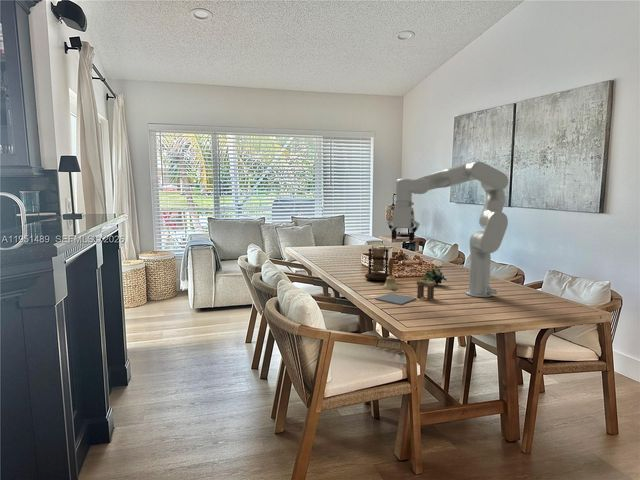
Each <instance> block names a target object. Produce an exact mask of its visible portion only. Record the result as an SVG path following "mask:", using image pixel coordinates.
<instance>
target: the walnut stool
mask: <svg viewBox="0 0 640 480" xmlns="http://www.w3.org/2000/svg"><path fill="white" fill-rule="evenodd" d="M416 285H417V292H416V293H417V295H416V298H418V299H421V298H424V295H425V287H427V292H426V293H427V295H426V300H427V301H431V299H432V300H433V299H434V298H435V297H434V296H435V295H434V294H435V285H436V283H435V282H432V281H431V280H430V281H428V280H427V281H426V280H422V279H420V280H418V281H417V280H416Z"/></svg>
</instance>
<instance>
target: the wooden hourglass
mask: <svg viewBox="0 0 640 480" xmlns="http://www.w3.org/2000/svg"><path fill="white" fill-rule="evenodd" d="M389 252H390V251H389V248H386V245H384V247H383V248H379V247H374V245H372V248H369V249H368V265H367V267H368V271H367V272H368V273H365V275H364V278H365V279H368V281H369V282H371V280H374V281H385V282H386V278H387V277H389V271H388V269H389V266H388V263H389Z"/></svg>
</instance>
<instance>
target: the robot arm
mask: <svg viewBox="0 0 640 480" xmlns="http://www.w3.org/2000/svg"><path fill="white" fill-rule="evenodd" d="M474 180H475V181H478V182H480V185H481V187H482V189H483V190H484V192H485V196H486V197H485V198H486V199H485V201H484V202H485V203H484V205H483V208H482V211H481V214H480V216H479V220H478V223H479V226H480V227H481V228H483V229H484V231H483V230H482V231H481V230H478V231H475V232H473V234H471V235H470V238H469V252H470V253H469V255H470V256H469V258H470V259H469V276H468V277H469V279H468V289H466V290H465V291H464V292H465V295H467V296H470V297H476V298H490V297H492V296H493V295H498V289H495V288H492V286H491V285H490V279H491V277H490V276H491V264H492V258H491V254H494V253H496V252H497V251H498V250H499V248H500V246H501V245H502V242H503V241H504V240H503V239H504V236H505V234H506V232H507V229H508V223H509V219H508V216H507V215H506V214H505V213H504V212H503V209H504V206H505V202H506V196H505V191H504V190H505V189H506V188H507V187H508V185H509V178H508V176H507V175H506V173H504V172H503V171H501V170H499V169H497V168H494V167H493V166H490V165H489V164H488V163H485V162H483V161H479V160H478V161H471V162H467V163H463V164H459V165H457V166H453V167H452V166H451V167H450V168H449V167H448V168H446V169H443V170H440V171H436V172H434V173H430V174H427V175H423V176H420V177H417V178H398V179H396V182H395V189H396V190H395V207H394V208H393V213H392V219H390V220H388V221H387V222H386V224H387V226H388V228H389V229H390V232H391V240H396V239H397V235H398V231H397V229H408V230H409V234H408V235H409V237H408V239H409V240H408V241H409V242H413V241H414V240H415V233H416V231H418V229H419V227H420V223H419V222H418V221H417V220H415V219H416V218H415V210H414V207H413V206H414V203H415V202H413V201H412V199H413V194H415V195H423V194H424V195H425V194H426V193H428V192H429V191H431V190H435V189H441V188H443V189H444V188H450V187H453V186H456V185H460V184H463V183H466V182H469V181H474Z"/></svg>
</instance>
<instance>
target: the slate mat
mask: <svg viewBox="0 0 640 480" xmlns="http://www.w3.org/2000/svg"><path fill="white" fill-rule="evenodd" d="M374 300H376V301H381V302H385V303H390V304H394V305H398V306H402V305H405V304H408V303H411V302H413V301H415V300H417V297H413V296H409V295H403V294H398V293H393V292H390V293H386V294H384V295H382V296H377V297H375V298H374Z"/></svg>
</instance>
